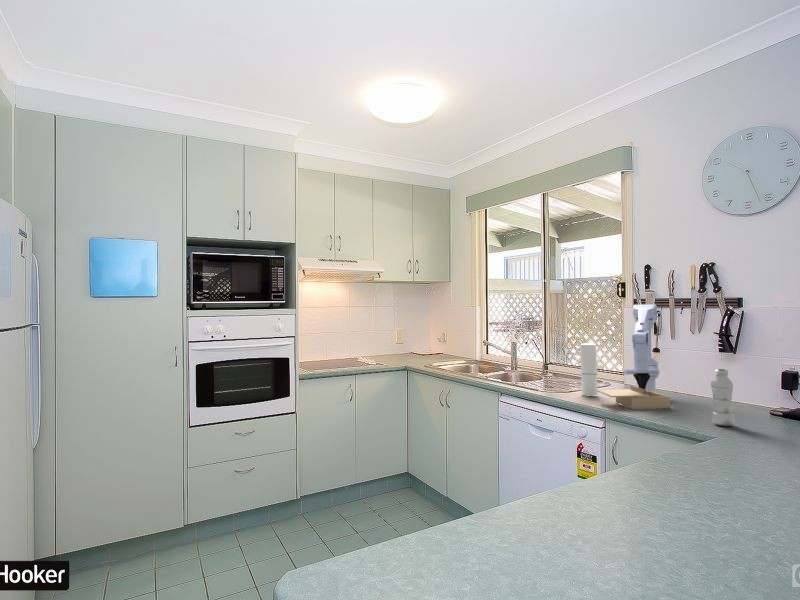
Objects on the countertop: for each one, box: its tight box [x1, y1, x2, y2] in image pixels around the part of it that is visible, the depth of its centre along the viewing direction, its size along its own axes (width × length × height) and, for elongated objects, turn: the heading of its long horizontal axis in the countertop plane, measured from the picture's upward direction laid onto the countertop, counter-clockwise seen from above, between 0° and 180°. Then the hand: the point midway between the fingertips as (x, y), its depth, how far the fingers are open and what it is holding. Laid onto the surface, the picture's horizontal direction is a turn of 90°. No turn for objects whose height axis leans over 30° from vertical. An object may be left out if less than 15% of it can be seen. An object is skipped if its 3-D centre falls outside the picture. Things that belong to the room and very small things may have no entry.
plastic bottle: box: [710, 368, 736, 427], centre depth 163 cm, size 6×7×20 cm
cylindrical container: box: [579, 343, 598, 396], centre depth 223 cm, size 7×7×25 cm
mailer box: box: [615, 391, 671, 410], centre depth 198 cm, size 14×16×5 cm
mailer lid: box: [597, 385, 649, 398], centre depth 198 cm, size 14×16×3 cm
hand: (642, 390), depth 198 cm, fingers closed
